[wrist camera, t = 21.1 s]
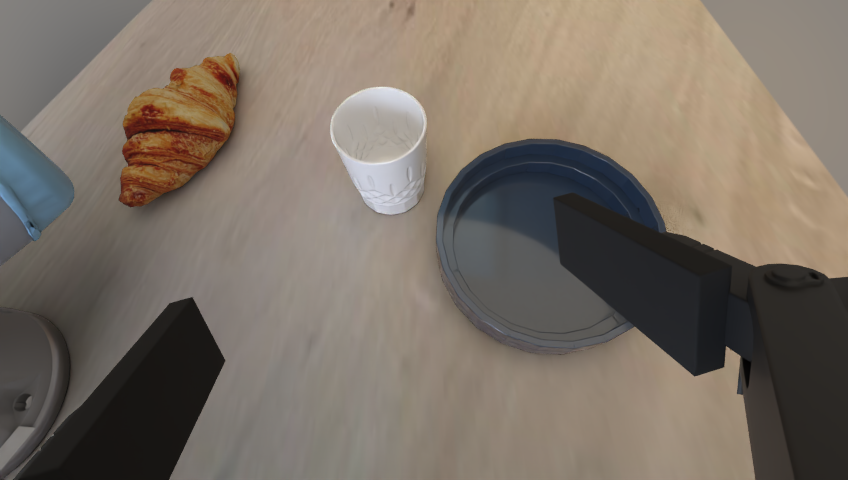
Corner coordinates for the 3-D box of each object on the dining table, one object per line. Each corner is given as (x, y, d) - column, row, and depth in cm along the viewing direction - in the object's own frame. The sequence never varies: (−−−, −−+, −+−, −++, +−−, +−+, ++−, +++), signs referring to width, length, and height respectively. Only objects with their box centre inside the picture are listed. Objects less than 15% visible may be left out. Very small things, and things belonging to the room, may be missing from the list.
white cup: (430, 220, 40) (426, 163, 31) (352, 221, 40) (325, 165, 31) (430, 154, 43) (426, 84, 34) (357, 155, 43) (334, 87, 34)
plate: (395, 243, 39) (391, 225, 35) (533, 131, 44) (541, 105, 40) (548, 405, 33) (561, 404, 29) (690, 255, 37) (717, 238, 34)
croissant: (232, 85, 52) (175, 33, 47) (280, 68, 47) (222, 7, 41) (142, 223, 44) (60, 181, 38) (187, 224, 39) (99, 175, 33)
